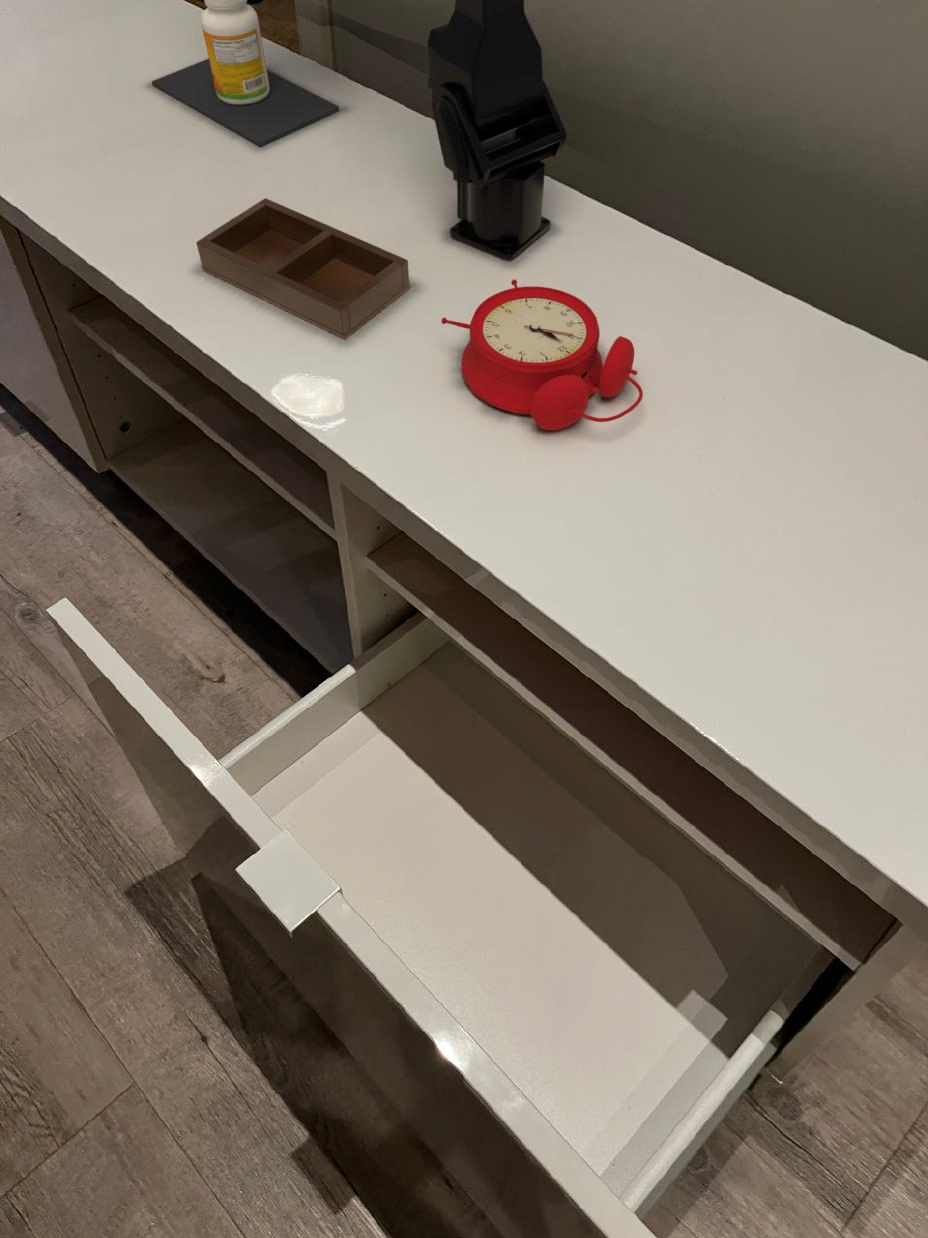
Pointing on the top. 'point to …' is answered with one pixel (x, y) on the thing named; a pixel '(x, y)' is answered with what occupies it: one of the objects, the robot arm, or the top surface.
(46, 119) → the top surface
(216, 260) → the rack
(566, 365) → the alarm clock
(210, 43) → the supplement bottle
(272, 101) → the mat
